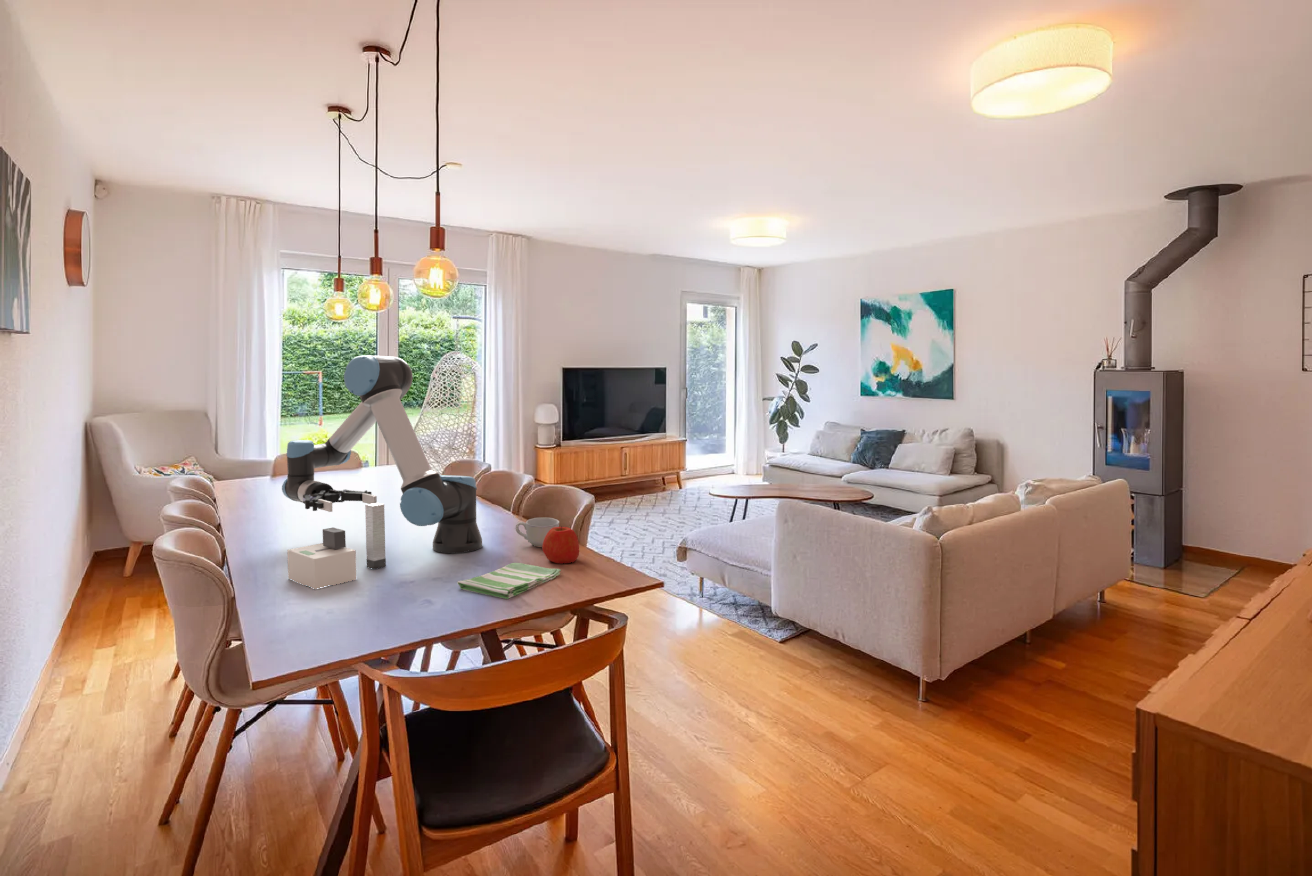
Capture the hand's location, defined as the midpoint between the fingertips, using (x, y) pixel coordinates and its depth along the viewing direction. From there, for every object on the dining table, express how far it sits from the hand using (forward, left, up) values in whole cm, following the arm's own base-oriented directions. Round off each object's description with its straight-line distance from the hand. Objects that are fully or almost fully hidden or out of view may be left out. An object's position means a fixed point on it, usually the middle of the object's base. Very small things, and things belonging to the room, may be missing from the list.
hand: (354, 503), depth 197 cm
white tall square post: (-8, +7, -17) cm, 20 cm away
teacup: (-52, -16, -17) cm, 57 cm away
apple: (-60, +4, -17) cm, 62 cm away
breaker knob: (0, +16, -9) cm, 18 cm away
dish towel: (-47, +23, -18) cm, 55 cm away
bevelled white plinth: (+3, +18, -17) cm, 25 cm away
